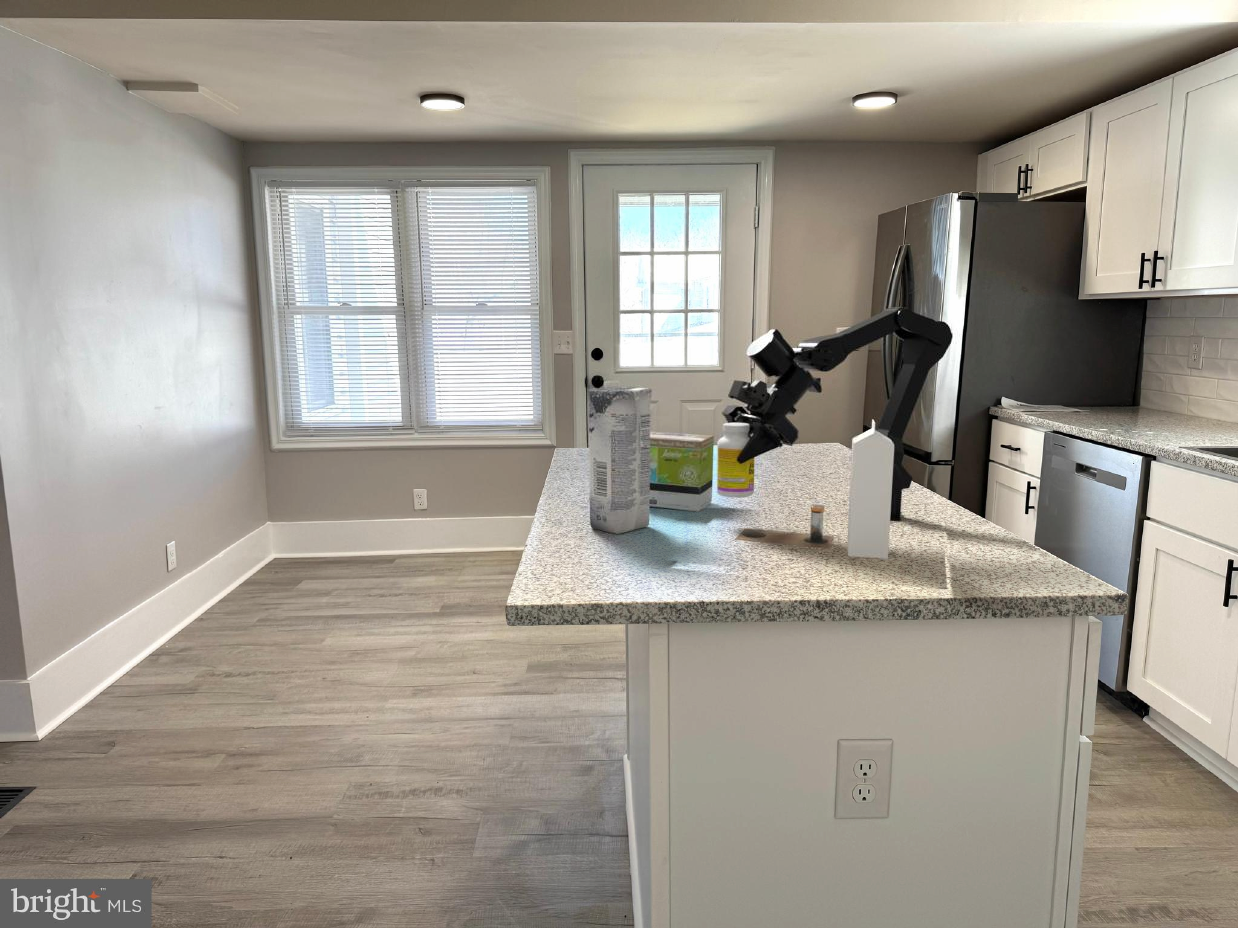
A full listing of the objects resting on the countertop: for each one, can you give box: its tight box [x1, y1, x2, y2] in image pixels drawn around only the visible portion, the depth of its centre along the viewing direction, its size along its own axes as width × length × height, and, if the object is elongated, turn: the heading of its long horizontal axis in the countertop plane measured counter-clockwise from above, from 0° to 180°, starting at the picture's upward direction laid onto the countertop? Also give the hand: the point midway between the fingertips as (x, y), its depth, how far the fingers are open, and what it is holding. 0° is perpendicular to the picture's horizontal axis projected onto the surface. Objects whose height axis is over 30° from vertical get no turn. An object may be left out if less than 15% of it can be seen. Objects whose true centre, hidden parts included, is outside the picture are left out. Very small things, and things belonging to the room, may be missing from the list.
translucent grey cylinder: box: [809, 503, 825, 542], centre depth 134 cm, size 2×2×6 cm
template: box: [734, 528, 835, 549], centre depth 137 cm, size 16×8×1 cm, turn 69°
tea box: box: [649, 431, 715, 513], centre depth 167 cm, size 15×10×15 cm, turn 68°
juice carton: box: [587, 380, 652, 535], centre depth 146 cm, size 9×10×27 cm
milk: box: [846, 419, 894, 560], centre depth 126 cm, size 6×6×22 cm
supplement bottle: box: [716, 422, 755, 499], centre depth 144 cm, size 7×7×13 cm
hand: (729, 459), depth 143 cm, fingers closed on supplement bottle, 7 cm apart
